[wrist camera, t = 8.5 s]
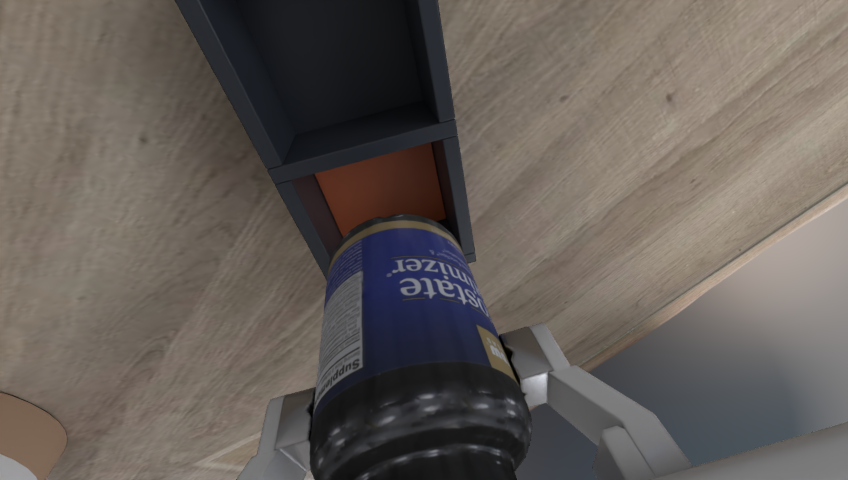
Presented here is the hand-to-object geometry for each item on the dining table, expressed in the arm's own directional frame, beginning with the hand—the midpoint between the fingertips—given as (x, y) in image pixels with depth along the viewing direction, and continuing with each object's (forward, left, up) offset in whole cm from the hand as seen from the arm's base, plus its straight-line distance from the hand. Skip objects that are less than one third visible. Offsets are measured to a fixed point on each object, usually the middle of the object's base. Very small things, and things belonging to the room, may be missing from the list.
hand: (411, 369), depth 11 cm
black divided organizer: (-4, 0, -14) cm, 15 cm away
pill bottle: (0, 0, -6) cm, 6 cm away
